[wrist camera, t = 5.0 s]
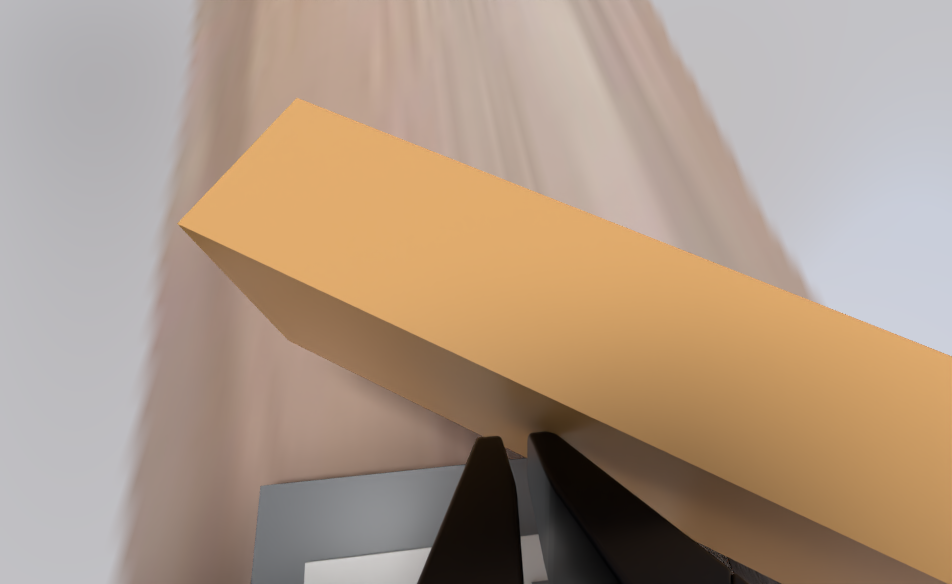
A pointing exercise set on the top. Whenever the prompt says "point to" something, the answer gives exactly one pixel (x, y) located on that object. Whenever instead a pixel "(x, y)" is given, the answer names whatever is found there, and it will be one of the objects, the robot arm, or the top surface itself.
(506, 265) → the swing bar
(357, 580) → the label plate
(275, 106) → the top surface
